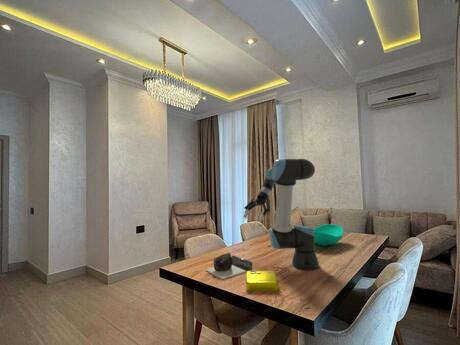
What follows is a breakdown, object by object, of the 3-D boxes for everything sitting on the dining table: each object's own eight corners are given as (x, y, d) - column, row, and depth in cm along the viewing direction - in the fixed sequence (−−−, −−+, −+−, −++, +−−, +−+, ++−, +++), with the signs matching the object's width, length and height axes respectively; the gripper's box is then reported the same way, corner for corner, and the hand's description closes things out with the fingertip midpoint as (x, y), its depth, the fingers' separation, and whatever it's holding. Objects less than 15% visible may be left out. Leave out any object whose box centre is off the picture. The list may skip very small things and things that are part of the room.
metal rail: (252, 270, 133) (252, 261, 133) (249, 271, 132) (249, 262, 132) (234, 263, 146) (233, 254, 147) (231, 263, 145) (231, 255, 145)
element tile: (246, 291, 108) (245, 281, 108) (246, 278, 123) (246, 269, 123) (279, 292, 107) (278, 281, 107) (275, 279, 121) (274, 269, 122)
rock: (212, 271, 134) (223, 276, 126) (210, 257, 133) (220, 260, 126) (228, 263, 141) (239, 267, 133) (225, 249, 141) (236, 252, 133)
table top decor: (320, 237, 208) (319, 222, 209) (352, 243, 187) (351, 226, 188) (293, 245, 183) (293, 228, 184) (327, 253, 162) (326, 234, 163)
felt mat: (246, 272, 130) (246, 270, 131) (222, 279, 121) (222, 278, 121) (227, 264, 144) (227, 263, 144) (205, 270, 134) (205, 269, 134)
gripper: (281, 198, 163) (270, 223, 151) (252, 197, 179) (240, 220, 167) (277, 191, 159) (266, 216, 147) (247, 191, 176) (235, 213, 164)
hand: (252, 218), depth 157 cm, fingers open, 13 cm apart
